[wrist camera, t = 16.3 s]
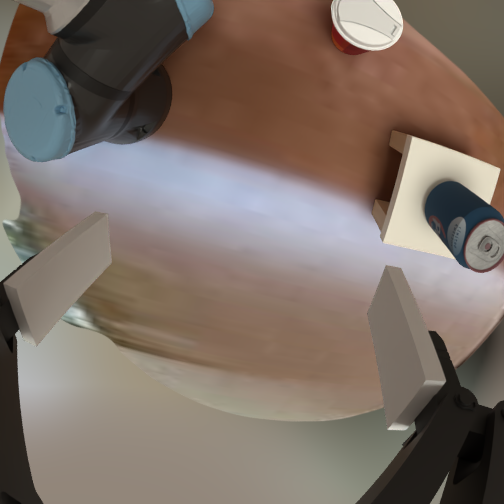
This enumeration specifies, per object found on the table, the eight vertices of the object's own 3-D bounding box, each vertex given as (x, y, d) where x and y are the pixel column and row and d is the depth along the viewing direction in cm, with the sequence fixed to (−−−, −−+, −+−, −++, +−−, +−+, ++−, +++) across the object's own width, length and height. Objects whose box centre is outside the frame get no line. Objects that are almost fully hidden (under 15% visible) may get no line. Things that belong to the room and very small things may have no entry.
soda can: (411, 214, 36) (446, 261, 26) (438, 167, 33) (485, 200, 23) (449, 238, 37) (488, 287, 26) (475, 195, 33) (524, 234, 23)
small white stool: (369, 214, 47) (382, 242, 39) (390, 127, 41) (412, 136, 32) (443, 232, 47) (467, 262, 38) (468, 153, 40) (500, 169, 31)
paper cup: (386, 33, 34) (418, 11, 22) (361, 72, 38) (385, 63, 26) (338, 3, 33) (352, -30, 21) (313, 43, 37) (317, 21, 25)
